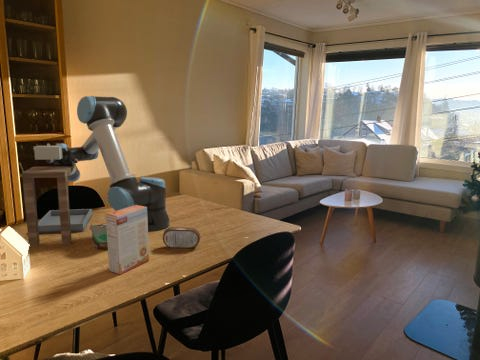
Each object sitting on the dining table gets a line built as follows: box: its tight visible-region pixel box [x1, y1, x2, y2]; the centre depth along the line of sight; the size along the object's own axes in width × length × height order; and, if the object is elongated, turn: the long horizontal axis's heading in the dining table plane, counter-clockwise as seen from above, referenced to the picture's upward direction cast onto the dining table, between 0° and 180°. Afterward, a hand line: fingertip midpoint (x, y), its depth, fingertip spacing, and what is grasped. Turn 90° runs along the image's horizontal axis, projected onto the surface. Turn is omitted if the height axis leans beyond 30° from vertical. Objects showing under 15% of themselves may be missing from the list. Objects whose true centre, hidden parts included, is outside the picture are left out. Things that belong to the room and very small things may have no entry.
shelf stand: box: [21, 165, 73, 248], centre depth 146 cm, size 14×15×30 cm
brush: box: [33, 145, 63, 161], centre depth 150 cm, size 16×9×5 cm, turn 13°
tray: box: [38, 208, 93, 234], centre depth 169 cm, size 24×20×4 cm
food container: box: [89, 222, 108, 251], centre depth 142 cm, size 12×6×10 cm, turn 117°
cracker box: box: [105, 205, 150, 276], centre depth 126 cm, size 14×6×21 cm, turn 150°
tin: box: [162, 226, 201, 249], centre depth 145 cm, size 15×3×8 cm, turn 92°
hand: (52, 146), depth 150 cm, fingers closed on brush, 3 cm apart
